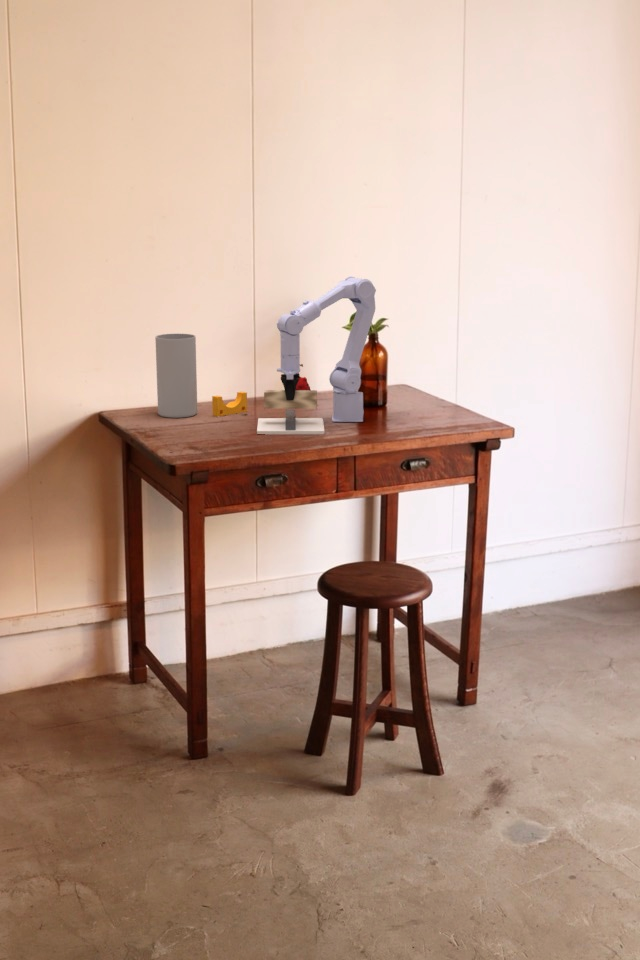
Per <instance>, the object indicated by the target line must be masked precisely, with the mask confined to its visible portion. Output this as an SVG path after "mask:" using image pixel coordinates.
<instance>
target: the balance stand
mask: <svg viewBox="0 0 640 960" xmlns="http://www.w3.org/2000/svg"><path fill="white" fill-rule="evenodd" d="M257 419H258V420H257V428H256V435H257V434H265V435H325V427H324V425H325V424H324V419H323V418H322V417H296V409H285V417H281V418H280V417H279V418H278V417H277V418H276V417H275V418H274V417H267V418H266V417H265V418H263V417H262V418H261V417H258V418H257Z"/></svg>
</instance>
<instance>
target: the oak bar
mask: <svg viewBox="0 0 640 960" xmlns="http://www.w3.org/2000/svg"><path fill="white" fill-rule="evenodd" d="M263 392H264V393H263V408H264V410H265V409H275V410H276V409H281V410H282V409H285V410H286V409H295V410H296V409H297V410H302V409H303V410H311V409H312V410H317V409H318V390H311V389H310V390H295V396H294V400H287V399H286V395H285V389H281V390H280V389H273V390H272V389H264V391H263Z"/></svg>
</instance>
